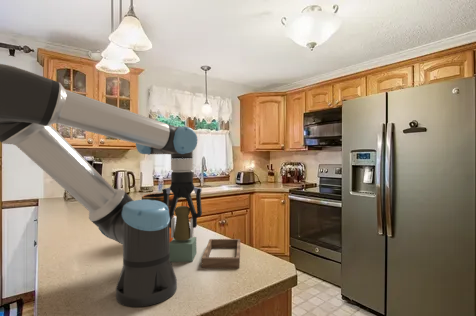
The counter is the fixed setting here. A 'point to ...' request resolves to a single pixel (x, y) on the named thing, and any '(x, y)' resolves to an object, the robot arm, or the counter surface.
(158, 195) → the vessel
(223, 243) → the wooden frame
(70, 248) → the counter surface
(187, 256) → the stand
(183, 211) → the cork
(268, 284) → the counter surface
